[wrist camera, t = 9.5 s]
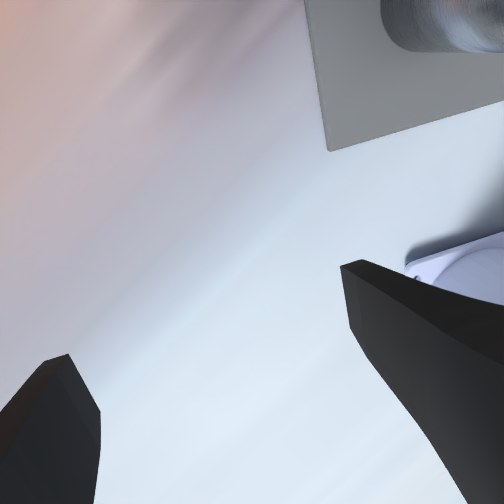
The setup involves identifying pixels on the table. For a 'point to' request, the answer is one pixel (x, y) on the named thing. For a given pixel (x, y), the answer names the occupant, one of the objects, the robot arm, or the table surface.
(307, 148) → the table surface
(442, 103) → the rubber pad
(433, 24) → the steel cylinder
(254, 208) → the table surface
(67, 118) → the table surface
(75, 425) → the robot arm
